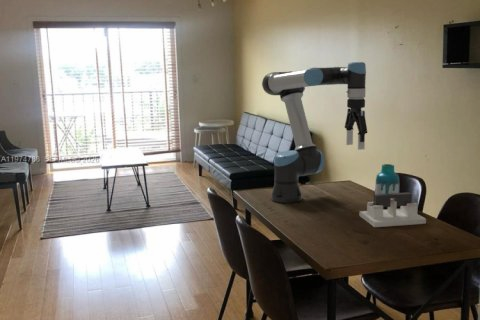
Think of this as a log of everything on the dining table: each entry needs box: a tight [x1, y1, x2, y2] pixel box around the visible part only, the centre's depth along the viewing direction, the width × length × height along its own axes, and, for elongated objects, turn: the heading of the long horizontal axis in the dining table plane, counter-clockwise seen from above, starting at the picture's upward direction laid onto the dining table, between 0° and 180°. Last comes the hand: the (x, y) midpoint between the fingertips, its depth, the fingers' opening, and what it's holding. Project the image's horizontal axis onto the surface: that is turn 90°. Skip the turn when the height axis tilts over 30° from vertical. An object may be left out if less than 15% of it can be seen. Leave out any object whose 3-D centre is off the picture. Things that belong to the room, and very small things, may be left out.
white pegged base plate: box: [358, 199, 427, 228], centre depth 209 cm, size 16×22×8 cm
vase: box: [374, 163, 400, 200], centre depth 228 cm, size 11×11×19 cm
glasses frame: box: [372, 192, 413, 208], centre depth 208 cm, size 2×16×5 cm, turn 98°
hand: (355, 147), depth 219 cm, fingers open, 13 cm apart
